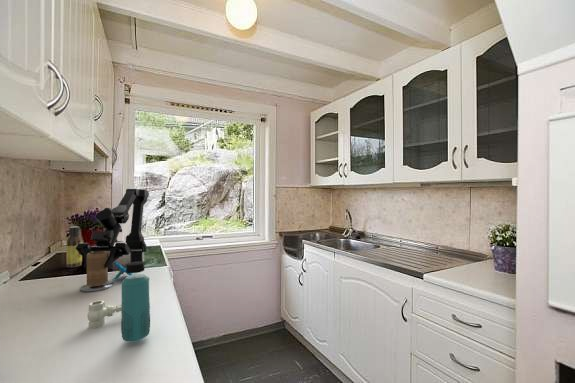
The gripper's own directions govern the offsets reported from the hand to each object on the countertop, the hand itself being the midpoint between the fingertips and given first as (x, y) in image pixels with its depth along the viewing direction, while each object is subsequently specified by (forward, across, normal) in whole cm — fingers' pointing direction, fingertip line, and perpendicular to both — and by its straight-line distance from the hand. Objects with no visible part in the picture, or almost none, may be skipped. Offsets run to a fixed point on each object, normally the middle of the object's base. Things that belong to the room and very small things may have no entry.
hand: (95, 267), depth 109 cm
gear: (-3, +5, +15) cm, 16 cm away
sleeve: (+4, 0, +6) cm, 7 cm away
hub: (+5, 0, +7) cm, 8 cm away
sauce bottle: (-18, -28, +30) cm, 45 cm away
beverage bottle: (+35, +32, -24) cm, 53 cm away
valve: (+27, +21, -15) cm, 37 cm away
